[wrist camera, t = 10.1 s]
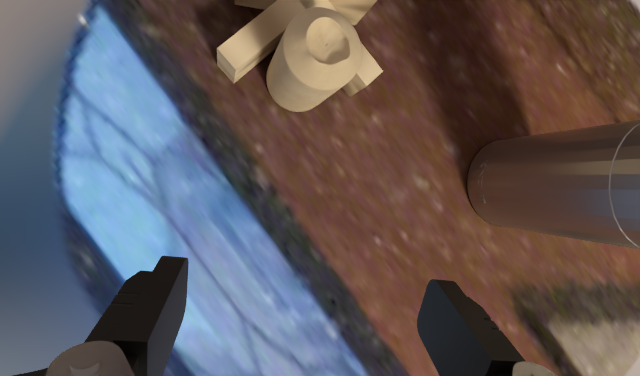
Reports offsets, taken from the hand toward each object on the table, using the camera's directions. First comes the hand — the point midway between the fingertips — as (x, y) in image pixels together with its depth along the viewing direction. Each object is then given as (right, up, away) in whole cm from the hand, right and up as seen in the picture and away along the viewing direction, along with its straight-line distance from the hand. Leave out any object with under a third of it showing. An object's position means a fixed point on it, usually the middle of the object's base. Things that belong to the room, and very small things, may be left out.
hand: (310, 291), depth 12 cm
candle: (-2, +13, +21) cm, 24 cm away
